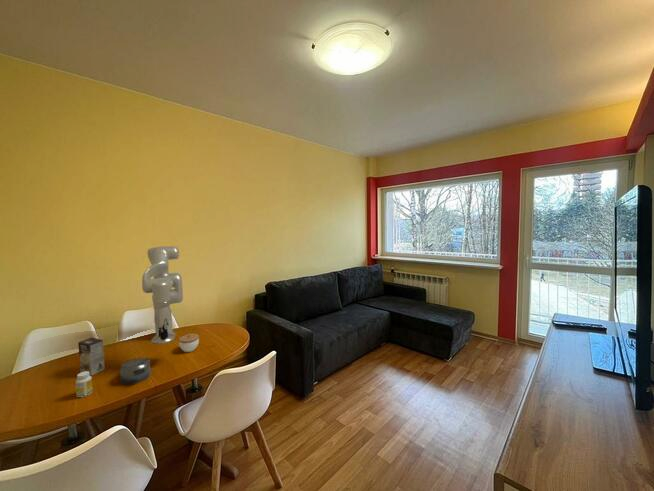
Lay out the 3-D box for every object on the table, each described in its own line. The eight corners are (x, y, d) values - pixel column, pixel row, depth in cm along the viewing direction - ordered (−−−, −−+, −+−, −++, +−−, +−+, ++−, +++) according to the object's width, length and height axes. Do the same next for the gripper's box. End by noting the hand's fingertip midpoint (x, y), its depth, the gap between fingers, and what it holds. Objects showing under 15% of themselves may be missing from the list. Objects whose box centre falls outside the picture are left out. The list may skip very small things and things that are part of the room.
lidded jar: (203, 346, 167) (202, 331, 166) (192, 354, 156) (192, 339, 155) (186, 345, 168) (186, 330, 167) (175, 353, 157) (174, 338, 156)
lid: (148, 339, 146) (148, 329, 145) (171, 333, 154) (170, 323, 153) (155, 346, 139) (154, 335, 138) (178, 339, 147) (177, 329, 146)
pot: (117, 375, 135) (116, 362, 134) (146, 366, 143) (145, 353, 143) (125, 389, 123) (124, 375, 123) (155, 378, 132) (154, 365, 132)
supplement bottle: (77, 399, 117) (75, 378, 116) (75, 394, 120) (73, 374, 119) (93, 393, 121) (92, 373, 120) (91, 388, 124) (89, 368, 123)
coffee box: (79, 372, 137) (77, 342, 136) (94, 366, 143) (91, 337, 142) (91, 375, 134) (89, 344, 133) (105, 369, 140) (103, 339, 139)
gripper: (149, 302, 147) (151, 334, 149) (158, 309, 136) (160, 344, 138) (164, 299, 152) (166, 330, 154) (174, 306, 141) (176, 339, 143)
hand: (163, 336), depth 146 cm, fingers closed on lid, 2 cm apart
